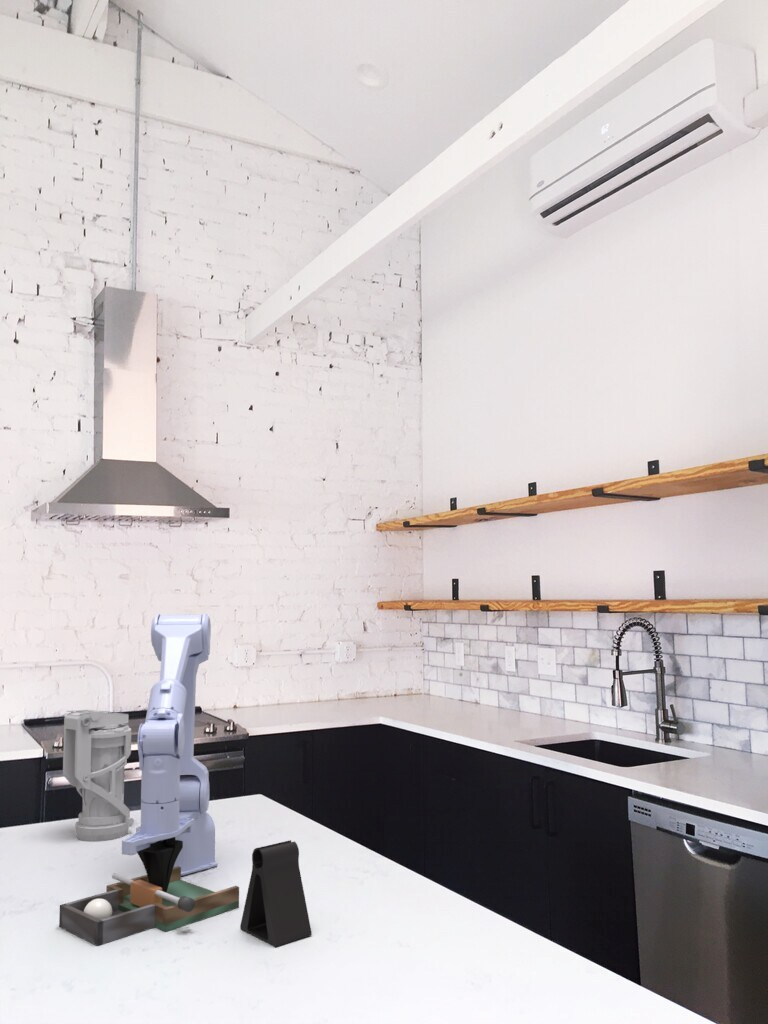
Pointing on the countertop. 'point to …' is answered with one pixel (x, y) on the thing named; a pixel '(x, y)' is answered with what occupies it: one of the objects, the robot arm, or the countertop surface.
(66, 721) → the lantern
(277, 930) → the phone stand
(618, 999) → the countertop surface
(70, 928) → the pitch
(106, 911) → the ball
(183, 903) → the kicker
